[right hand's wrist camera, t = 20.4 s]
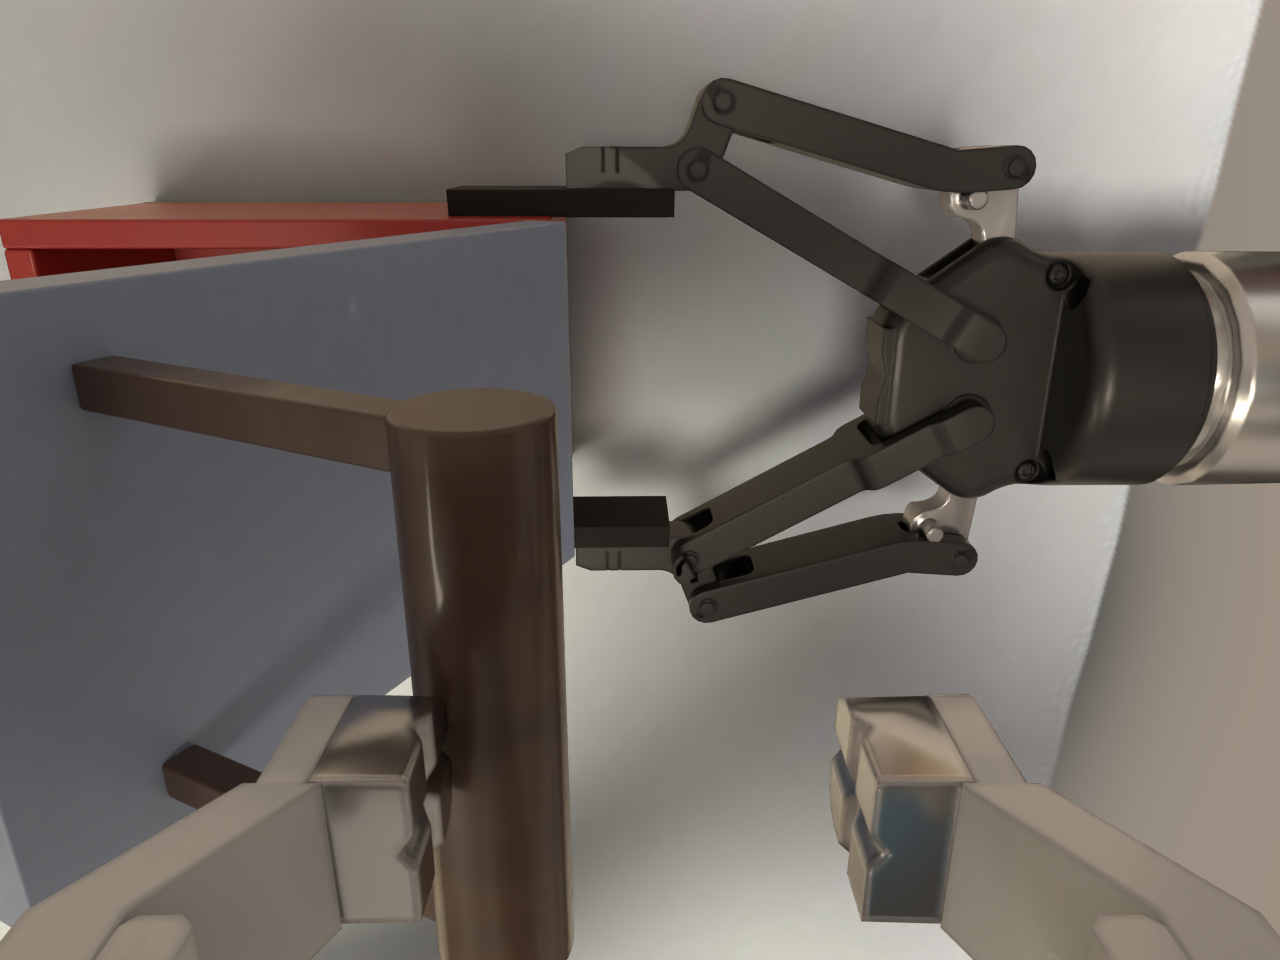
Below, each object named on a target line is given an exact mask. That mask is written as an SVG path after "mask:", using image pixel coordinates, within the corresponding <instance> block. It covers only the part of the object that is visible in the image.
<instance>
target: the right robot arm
mask: <svg viewBox="0 0 1280 960" xmlns="http://www.w3.org/2000/svg"><path fill="white" fill-rule="evenodd" d="M834 729H835V732H836V735H837V738H838V741H839V744H840V747H841V750H840V751H839V752H838V753H837V755H836V756H835V757H834V758H833V759H832V760H831V775H830V797H831V811H832V817H833V823H834V828H835V832H836V835H837V839H838V843H839V844H840V845H841V846H843V847H844V848H845V849H846V850H847V851H849V860H848V871H847V874H848V878H849V881H850V884H851V888H852V891H853V894H854V898H855V901H856V904H857V908H858V911H859V915H860V918H861V921H869V922H904V923H940V924H941V928H942V929H943V930H944V931H945V932H946V933H947V934H948V935H949V936H950V937H951V938H952V939H953V940H954V941H955V942H956V943H957V944H958V945H959V946H960V947H961V948H962V949H963V950H964V951H965V952H966V953H967V954H968V955H969V956H970V957H971V958H972V959H973V960H1280V936H1279V935H1278V933H1277V932H1276V931H1275V930H1274V929H1273V927H1272V926H1271V925H1270V924H1269V922H1268V921H1267V920H1266V919H1265V917H1264V916H1263V915H1262V914H1261V913H1260V912H1259V911H1257V910H1255V909H1254V908H1252V907H1250V906H1248V905H1247V904H1245V903H1243V902H1242V901H1240V900H1238V899H1237V898H1235V897H1233V896H1232V895H1230V894H1228V893H1226V892H1225V891H1223V890H1221V889H1220V888H1218V887H1216V886H1215V885H1213V884H1211V883H1209V882H1208V881H1206V880H1204V879H1203V878H1201V877H1199V876H1198V875H1196V874H1194V873H1192V872H1191V871H1189V870H1187V869H1186V868H1184V867H1182V866H1181V865H1179V864H1177V863H1175V862H1174V861H1172V860H1170V859H1169V858H1167V857H1165V856H1164V855H1162V854H1160V853H1158V852H1157V851H1155V850H1153V849H1152V848H1150V847H1148V846H1147V845H1145V844H1143V843H1141V842H1140V841H1138V840H1136V839H1135V838H1133V837H1131V836H1130V835H1128V834H1126V833H1124V832H1123V831H1121V830H1119V829H1118V828H1116V827H1114V826H1113V825H1111V824H1109V823H1107V822H1106V821H1104V820H1102V819H1101V818H1099V817H1097V816H1096V815H1094V814H1092V813H1090V812H1089V811H1087V810H1085V809H1084V808H1082V807H1080V806H1079V805H1077V804H1075V803H1073V802H1072V801H1070V800H1068V799H1067V798H1065V797H1063V796H1062V795H1060V794H1058V793H1056V792H1055V791H1053V790H1051V789H1050V788H1048V787H1046V786H1045V785H1043V784H1041V783H1027V782H1026V780H1025V778H1024V777H1023V775H1022V774H1021V772H1020V770H1019V769H1018V767H1017V766H1016V764H1015V762H1014V761H1013V759H1012V758H1011V756H1010V754H1009V753H1008V751H1007V750H1006V748H1005V746H1004V745H1003V743H1002V742H1001V740H1000V738H999V737H998V735H997V734H996V732H995V730H994V729H993V727H992V726H991V724H990V722H989V721H988V719H987V718H986V716H985V714H984V713H983V711H982V710H981V708H980V707H979V705H978V703H977V702H976V700H975V699H974V698H973V697H971V696H970V695H968V694H953V695H925V696H908V697H856V698H839V701H838V705H837V708H836V717H835V726H834ZM447 730H448V723H447V714H446V706H445V702H444V701H443V699H442V697H439V696H391V695H358V696H355V695H314V696H312V697H310V698H308V699H307V700H306V702H305V703H304V705H303V707H302V708H301V710H300V711H299V713H298V715H297V716H296V718H295V720H294V721H293V723H292V724H291V726H290V728H289V729H288V731H287V733H286V734H285V736H284V738H283V739H282V741H281V742H280V744H279V746H278V747H277V749H276V751H275V752H274V754H273V755H272V757H271V759H270V760H269V762H268V764H267V765H266V767H265V769H264V770H263V772H262V773H261V775H260V777H259V778H258V780H257V782H256V783H242V784H240V785H238V786H237V787H235V788H233V789H232V790H230V791H228V792H227V793H225V794H223V795H221V796H220V797H218V798H216V799H215V800H213V801H211V802H210V803H208V804H206V805H204V806H203V807H201V808H199V809H198V810H196V811H194V812H193V813H191V814H189V815H187V816H186V817H184V818H182V819H181V820H179V821H177V822H176V823H174V824H172V825H170V826H169V827H167V828H165V829H164V830H162V831H160V832H159V833H157V834H155V835H153V836H152V837H150V838H148V839H147V840H145V841H143V842H142V843H140V844H138V845H136V846H135V847H133V848H131V849H130V850H128V851H126V852H125V853H123V854H121V855H119V856H118V857H116V858H114V859H113V860H111V861H109V862H108V863H106V864H104V865H102V866H101V867H99V868H97V869H96V870H94V871H92V872H91V873H89V874H87V875H85V876H84V877H82V878H80V879H79V880H77V881H75V882H74V883H72V884H70V885H68V886H67V887H65V888H63V889H62V890H60V891H58V892H57V893H55V894H53V895H51V896H50V897H48V898H46V899H45V900H43V901H41V902H40V903H38V904H36V905H34V906H33V907H31V908H29V909H28V910H26V911H25V912H24V913H23V914H22V915H21V917H20V918H19V919H18V920H17V921H16V923H15V924H14V925H13V926H12V928H11V929H10V930H9V931H8V933H7V934H6V935H5V936H4V937H3V939H2V940H1V941H0V960H310V959H311V958H312V957H313V956H314V955H315V954H316V953H317V952H318V951H319V950H320V949H321V948H322V947H323V946H324V945H325V944H326V943H327V942H328V941H329V940H330V939H331V938H332V937H333V936H335V935H336V934H337V933H338V932H339V931H340V930H341V929H342V925H341V924H343V923H377V922H412V921H422V918H423V914H424V911H425V907H426V904H427V900H428V897H429V894H430V890H431V887H432V883H433V880H434V876H435V864H434V853H433V852H434V851H435V850H436V849H437V848H439V847H440V846H441V845H442V844H444V841H445V837H446V833H447V829H448V826H449V820H450V812H451V804H452V767H451V760H450V758H449V757H448V756H447V755H446V754H445V753H444V752H443V751H442V750H441V749H442V746H443V743H444V739H445V736H446V733H447Z"/></svg>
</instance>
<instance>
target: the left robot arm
mask: <svg viewBox="0 0 1280 960" xmlns="http://www.w3.org/2000/svg"><path fill="white" fill-rule="evenodd" d="M732 133H734V134H737V135H741V136H744V137H747V138H750V139H754V140H757V141H760V142H764V143H767V144H770V145H773V146H777V147H780V148H783V149H787V150H790V151H793V152H796V153H800V154H803V155H806V156H809V157H813V158H816V159H819V160H823V161H826V162H829V163H832V164H836V165H839V166H842V167H846V168H849V169H852V170H855V171H859V172H862V173H865V174H869V175H872V176H875V177H878V178H882V179H885V180H888V181H891V182H895V183H898V184H901V185H905V186H910V187H914V188H920V189H927V190H935V191H940V193H939V200H940V205H941V208H942V210H943V211H944V212H945V213H946V214H948V215H950V216H954V217H958V218H962V219H963V220H965V221H966V222H967V223H968V224H969V226H970V228H971V230H972V238H970V239H969V240H967V241H965V242H964V243H963V244H961V245H960V246H958V247H957V248H955V249H954V250H952V251H951V252H950V253H948V254H947V255H945V256H944V257H942V258H941V259H939V260H938V261H936V262H935V263H934V264H932V265H931V266H929V267H928V268H926V269H925V270H923V271H922V272H920V273H919V274H918V275H914V274H913V273H911V272H909V271H908V270H906V269H904V268H903V267H901V266H899V265H897V264H896V263H894V262H892V261H890V260H888V259H887V258H885V257H883V256H881V255H880V254H878V253H877V252H875V251H873V250H872V249H870V248H868V247H867V246H865V245H863V244H862V243H860V242H859V241H857V240H855V239H854V238H852V237H850V236H849V235H847V234H845V233H844V232H842V231H840V230H839V229H837V228H836V227H834V226H832V225H831V224H829V223H827V222H826V221H824V220H822V219H821V218H819V217H818V216H816V215H814V214H813V213H811V212H809V211H808V210H806V209H804V208H803V207H801V206H799V205H798V204H796V203H795V202H793V201H791V200H790V199H788V198H786V197H785V196H783V195H781V194H780V193H778V192H777V191H775V190H773V189H772V188H770V187H768V186H767V185H765V184H763V183H762V182H760V181H758V180H757V179H755V178H754V177H752V176H750V175H749V174H747V173H745V172H744V171H742V170H740V169H739V168H737V167H736V166H734V165H732V164H731V163H729V162H727V161H726V160H724V159H723V156H724V154H725V151H726V148H727V146H728V143H729V140H730V138H731V135H732ZM1035 169H1036V159H1035V156H1034V154H1033V153H1032V151H1031V150H1029V149H1028V148H1026V147H1025V146H1018V145H1001V146H974V147H961V148H950V147H947V146H944V145H940V144H937V143H934V142H931V141H928V140H924V139H921V138H918V137H915V136H912V135H908V134H905V133H902V132H899V131H896V130H892V129H889V128H886V127H883V126H879V125H876V124H873V123H870V122H867V121H863V120H860V119H857V118H854V117H851V116H847V115H844V114H841V113H838V112H835V111H831V110H828V109H825V108H822V107H819V106H815V105H812V104H809V103H806V102H803V101H799V100H796V99H793V98H790V97H787V96H783V95H780V94H777V93H774V92H771V91H767V90H764V89H761V88H758V87H754V86H751V85H748V84H745V83H742V82H738V81H735V80H732V79H727V78H720V79H717V80H714V81H712V82H711V83H710V84H708V85H707V86H705V87H704V88H703V89H702V90H701V91H700V92H699V94H698V96H697V98H696V102H695V106H694V108H693V111H692V114H691V117H690V120H689V122H688V125H687V128H686V130H685V132H684V134H683V136H682V137H681V138H680V139H679V140H678V141H677V142H675V143H674V144H672V145H669V146H665V147H581V148H578V149H576V150H574V151H571V152H569V153H567V154H566V186H460V187H455V188H451V189H447V190H446V191H447V205H448V216H550V217H674V193H675V191H692V192H693V193H695V194H697V195H698V196H700V197H702V198H703V199H705V200H707V201H708V202H710V203H712V204H713V205H715V206H717V207H718V208H720V209H722V210H723V211H725V212H727V213H728V214H730V215H732V216H734V217H735V218H737V219H739V220H740V221H742V222H744V223H745V224H747V225H749V226H750V227H752V228H754V229H755V230H757V231H759V232H760V233H762V234H764V235H765V236H767V237H769V238H770V239H772V240H774V241H775V242H777V243H779V244H780V245H782V246H784V247H785V248H787V249H789V250H790V251H792V252H794V253H795V254H797V255H799V256H800V257H802V258H804V259H806V260H807V261H809V262H811V263H812V264H814V265H816V266H817V267H819V268H821V269H822V270H824V271H826V272H827V273H829V274H831V275H832V276H834V277H836V278H837V279H839V280H841V281H842V282H844V283H846V284H847V285H849V286H851V287H852V288H854V289H856V290H857V291H859V292H861V293H862V294H864V295H866V296H867V297H869V298H871V299H872V300H874V301H876V302H878V303H879V304H880V305H879V306H878V308H877V309H876V311H875V313H874V316H873V317H868V318H867V329H866V346H867V351H868V357H869V367H868V369H867V372H866V375H865V378H864V380H863V383H862V386H861V395H860V406H859V408H860V409H861V410H862V412H863V413H864V415H862V416H860V417H858V418H856V419H854V420H852V421H850V422H848V423H846V424H844V425H843V426H841V427H840V428H838V429H837V430H836V432H835V433H834V435H833V436H832V437H830V438H829V439H827V440H825V441H823V442H821V443H819V444H818V445H816V446H814V447H812V448H810V449H808V450H806V451H804V452H802V453H800V454H798V455H796V456H794V457H793V458H791V459H789V460H787V461H785V462H783V463H781V464H779V465H777V466H775V467H773V468H771V469H769V470H768V471H766V472H764V473H762V474H760V475H758V476H756V477H754V478H752V479H750V480H748V481H746V482H744V483H743V484H741V485H739V486H737V487H735V488H733V489H731V490H729V491H727V492H725V493H723V494H721V495H719V496H718V497H716V498H714V499H712V500H710V501H708V502H706V503H704V504H702V505H700V506H698V507H696V508H694V509H693V510H691V511H689V512H687V513H685V514H683V515H681V516H679V517H677V518H676V519H674V520H673V521H669V517H668V509H667V502H666V496H608V497H573V515H574V548H576V565H577V566H580V567H583V568H586V569H588V570H665V571H668V572H670V573H672V574H673V575H674V578H675V579H676V580H677V581H678V582H679V583H680V584H681V585H682V588H683V590H684V593H685V596H686V598H687V601H688V603H689V607H690V612H691V614H692V616H693V617H694V618H695V619H696V620H698V621H700V622H704V623H708V622H714V621H718V620H722V619H726V618H730V617H734V616H738V615H742V614H746V613H750V612H754V611H758V610H762V609H766V608H770V607H774V606H778V605H782V604H786V603H789V602H793V601H797V600H801V599H805V598H809V597H813V596H817V595H821V594H825V593H829V592H833V591H837V590H841V589H845V588H849V587H853V586H857V585H861V584H865V583H869V582H873V581H877V580H880V579H884V578H888V577H892V576H896V575H900V574H904V573H923V574H939V575H955V576H957V575H964V574H966V573H968V572H970V571H971V570H972V569H973V568H974V567H975V565H976V563H977V555H978V554H977V552H976V550H975V548H974V547H973V546H972V545H971V544H970V543H969V542H968V535H969V531H970V527H971V522H972V518H973V513H974V509H975V504H976V500H977V497H981V496H984V495H986V494H988V493H990V492H992V491H994V490H996V489H998V488H1001V487H1004V486H1007V485H1011V484H1035V485H1138V484H1146V483H1150V482H1153V481H1155V480H1156V481H1158V482H1162V483H1166V484H1171V485H1201V484H1251V483H1280V252H1239V251H1183V252H1180V253H1178V254H1175V255H1172V256H1171V255H1170V254H1167V253H1164V252H1161V251H1041V250H1035V249H1032V248H1030V247H1029V246H1027V245H1026V244H1024V243H1023V242H1021V241H1019V240H1017V239H1015V232H1016V217H1017V203H1018V188H1021V187H1023V186H1024V185H1026V184H1027V183H1028V182H1029V181H1030V180H1031V178H1032V177H1033V175H1034V173H1035ZM917 470H919V471H920V472H922V473H923V474H924V475H926V476H927V477H929V478H930V479H931V480H933V481H934V482H935V483H937V484H938V485H939V489H938V491H937V492H936V494H935V495H933V496H932V497H931V498H929V499H927V500H923V501H918V502H911V503H909V504H908V505H907V506H906V508H905V511H904V513H893V514H883V515H877V516H872V517H868V518H864V519H860V520H856V521H852V522H848V523H844V524H840V525H837V526H833V527H829V528H825V529H821V530H817V531H813V532H810V533H806V534H802V535H798V536H794V537H790V538H786V539H782V540H779V541H775V542H771V543H767V544H763V545H759V546H755V547H752V546H754V545H756V544H758V543H760V542H762V541H764V540H766V539H768V538H770V537H772V536H774V535H776V534H778V533H780V532H782V531H784V530H786V529H788V528H790V527H792V526H794V525H796V524H798V523H800V522H802V521H804V520H806V519H808V518H810V517H811V516H813V515H815V514H817V513H819V512H821V511H823V510H825V509H827V508H829V507H831V506H833V505H835V504H837V503H839V502H841V501H843V500H845V499H847V498H849V497H851V496H853V495H855V494H857V493H859V492H861V491H864V490H878V489H881V488H883V487H886V486H888V485H890V484H892V483H894V482H896V481H898V480H900V479H902V478H904V477H906V476H908V475H909V474H911V473H913V472H915V471H917ZM750 547H751V548H750Z"/></svg>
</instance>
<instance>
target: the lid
mask: <svg viewBox="0 0 1280 960" xmlns="http://www.w3.org/2000/svg"><path fill="white" fill-rule="evenodd" d="M574 555H575V552H574V515H573V477H572V440H571V402H570V365H569V327H568V289H567V252H566V223H565V222H556V221H532V220H528V221H519V222H510V223H502V224H493V225H484V226H476V227H467V228H458V229H450V230H441V231H432V232H423V233H415V234H406V235H397V236H389V237H380V238H371V239H363V240H354V241H345V242H336V243H328V244H319V245H310V246H302V247H293V248H284V249H275V250H267V251H258V252H249V253H241V254H232V255H223V256H215V257H206V258H197V259H188V260H180V261H171V262H162V263H154V264H145V265H136V266H128V267H119V268H110V269H101V270H93V271H84V272H75V273H67V274H58V275H49V276H40V277H32V278H23V279H14V280H6V281H0V920H1V921H2V922H4V923H5V924H7V925H8V926H10V927H12V926H13V925H14V924H15V923H16V921H17V920H18V919H19V918H20V917H21V915H22V914H23V913H24V912H25V911H26V910H28V909H29V908H31V907H33V906H34V905H36V904H38V903H40V902H41V901H43V900H45V899H46V898H48V897H50V896H51V895H53V894H55V893H57V892H58V891H60V890H62V889H63V888H65V887H67V886H68V885H70V884H72V883H74V882H75V881H77V880H79V879H80V878H82V877H84V876H85V875H87V874H89V873H91V872H92V871H94V870H96V869H97V868H99V867H101V866H102V865H104V864H106V863H108V862H109V861H111V860H113V859H114V858H116V857H118V856H119V855H121V854H123V853H125V852H126V851H128V850H130V849H131V848H133V847H135V846H136V845H138V844H140V843H142V842H143V841H145V840H147V839H148V838H150V837H152V836H153V835H155V834H157V833H159V832H160V831H162V830H164V829H165V828H167V827H169V826H170V825H172V824H174V823H176V822H177V821H179V820H181V819H182V818H184V817H186V816H187V815H189V814H191V813H193V812H194V811H196V810H198V809H199V808H201V807H203V806H204V805H206V804H208V803H210V802H211V801H213V800H215V799H216V798H218V797H220V796H221V795H223V794H225V793H227V792H228V791H230V790H232V789H233V788H235V787H237V786H238V785H240V784H242V783H256V782H257V780H258V778H259V777H260V775H261V773H262V772H263V770H264V769H265V767H266V765H267V764H268V762H269V760H270V759H271V757H272V755H273V754H274V752H275V751H276V749H277V747H278V746H279V744H280V742H281V741H282V739H283V738H284V736H285V734H286V733H287V731H288V729H289V728H290V726H291V724H292V723H293V721H294V720H295V718H296V716H297V715H298V713H299V711H300V710H301V708H302V707H303V705H304V703H305V702H306V700H307V699H308V698H310V697H312V696H314V695H355V696H358V695H385V694H387V693H388V692H389V691H391V690H392V689H394V688H395V687H396V686H398V685H399V684H400V683H402V682H403V681H404V680H406V679H407V678H409V677H410V676H411V680H412V690H413V696H439V697H442V699H443V701H444V702H445V706H446V714H447V723H448V730H447V733H446V736H445V739H444V743H443V746H442V749H441V750H442V751H443V752H444V753H445V754H446V755H447V756H448V757H449V758H450V760H451V767H452V804H451V812H450V820H449V826H448V829H447V833H446V837H445V841H444V844H442V845H441V846H440V847H439V848H437V849H436V850H435V851H434V852H433V853H434V864H435V876H434V880H433V883H432V887H431V890H430V894H429V897H428V900H427V904H426V907H425V911H424V914H423V916H424V917H426V918H428V919H431V920H433V921H435V922H436V926H437V935H438V945H439V955H440V960H567V958H568V956H569V954H570V951H571V949H572V945H573V939H574V924H573V893H572V862H571V831H570V799H569V768H568V737H567V706H566V675H565V644H564V613H563V582H562V565H563V564H565V563H566V562H567V561H569V560H570V559H571V558H573V557H574Z"/></svg>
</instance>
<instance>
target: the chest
mask: <svg viewBox="0 0 1280 960" xmlns="http://www.w3.org/2000/svg"><path fill="white" fill-rule="evenodd" d="M528 220H532V221H556V222H565V223H566V252H567V289H568V251H567V217H550V216H448V205H447V202H146V203H142V204H133V205H124V206H115V207H106V208H97V209H88V210H79V211H70V212H61V213H52V214H43V215H34V216H25V217H16V218H7V219H0V235H1V240H2V244H3V247H4V248H6V249H7V250H5V256H6V260H7V265H8V269H9V273H10V277H11V280H14V279H23V278H32V277H40V276H49V275H58V274H67V273H75V272H84V271H93V270H101V269H110V268H119V267H128V266H136V265H145V264H154V263H162V262H171V261H180V260H188V259H197V258H206V257H215V256H223V255H232V254H241V253H249V252H258V251H267V250H275V249H284V248H293V247H302V246H310V245H319V244H328V243H336V242H345V241H354V240H363V239H371V238H380V237H389V236H397V235H406V234H415V233H423V232H432V231H441V230H450V229H458V228H467V227H476V226H484V225H493V224H502V223H510V222H519V221H528ZM568 327H569V289H568ZM569 365H570V327H569ZM570 402H571V365H570ZM571 440H572V404H571ZM572 456H573V442H572Z"/></svg>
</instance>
